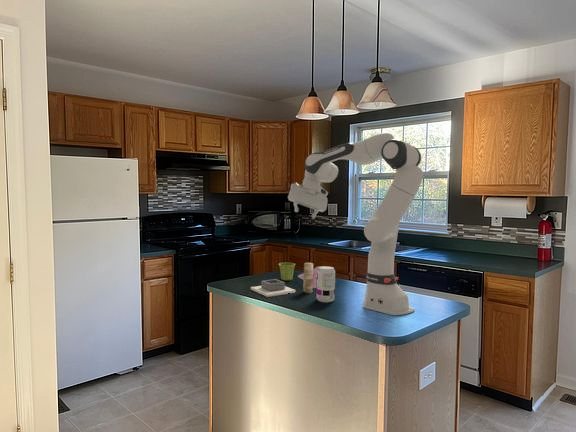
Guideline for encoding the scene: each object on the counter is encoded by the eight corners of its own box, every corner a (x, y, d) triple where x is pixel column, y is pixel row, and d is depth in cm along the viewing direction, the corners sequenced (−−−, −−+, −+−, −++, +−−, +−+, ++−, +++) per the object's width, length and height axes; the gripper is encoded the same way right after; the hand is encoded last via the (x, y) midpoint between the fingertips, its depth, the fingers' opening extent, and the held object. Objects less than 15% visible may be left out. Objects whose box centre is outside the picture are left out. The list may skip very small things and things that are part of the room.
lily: (295, 286, 220) (294, 272, 214) (311, 275, 226) (310, 261, 221) (312, 297, 212) (311, 283, 207) (327, 285, 219) (327, 271, 213)
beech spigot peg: (314, 292, 203) (314, 263, 202) (307, 293, 201) (307, 264, 200) (309, 290, 207) (309, 262, 206) (301, 291, 204) (302, 263, 204)
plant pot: (276, 280, 227) (276, 264, 227) (281, 277, 236) (281, 261, 236) (292, 282, 225) (292, 266, 224) (297, 278, 234) (297, 263, 233)
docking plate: (295, 292, 202) (295, 283, 202) (267, 296, 193) (267, 286, 193) (278, 285, 216) (278, 276, 215) (250, 289, 207) (250, 280, 206)
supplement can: (313, 301, 188) (314, 268, 187) (320, 296, 195) (321, 265, 194) (330, 303, 184) (331, 270, 183) (337, 299, 191) (337, 267, 190)
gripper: (294, 179, 201) (288, 206, 197) (330, 193, 208) (325, 219, 203) (289, 183, 206) (283, 209, 202) (324, 196, 213) (319, 221, 209)
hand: (304, 214), depth 203 cm, fingers open, 8 cm apart
